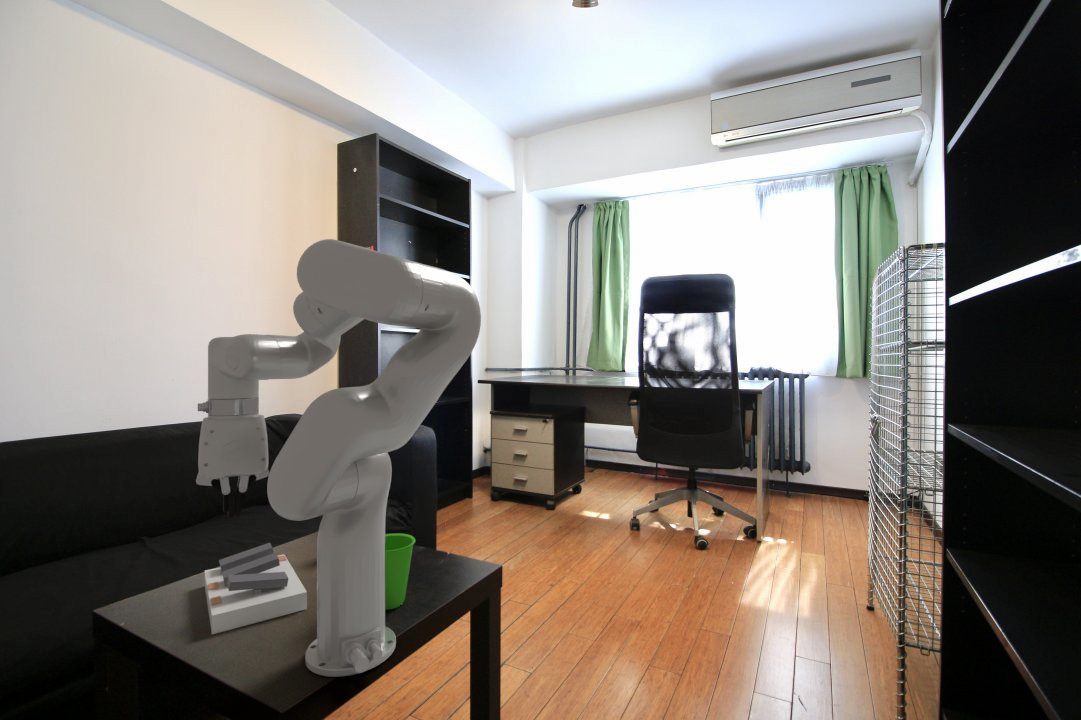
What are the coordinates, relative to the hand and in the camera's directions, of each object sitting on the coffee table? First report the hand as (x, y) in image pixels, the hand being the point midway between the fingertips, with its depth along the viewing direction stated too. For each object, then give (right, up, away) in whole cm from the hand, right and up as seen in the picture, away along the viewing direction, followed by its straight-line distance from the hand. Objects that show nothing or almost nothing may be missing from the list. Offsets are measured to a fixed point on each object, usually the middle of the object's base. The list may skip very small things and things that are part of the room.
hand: (233, 514), depth 87 cm
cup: (+26, -17, +4) cm, 31 cm away
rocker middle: (-1, -13, +8) cm, 15 cm away
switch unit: (0, -17, +6) cm, 18 cm away
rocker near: (+3, -13, +2) cm, 13 cm away
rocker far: (-5, -13, +13) cm, 19 cm away
